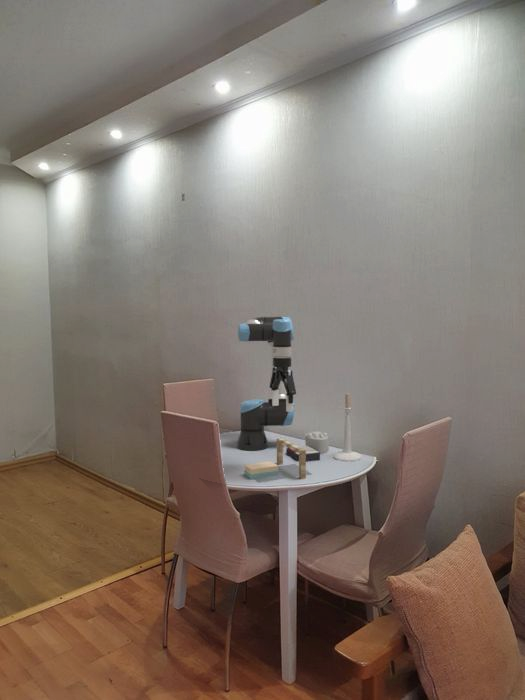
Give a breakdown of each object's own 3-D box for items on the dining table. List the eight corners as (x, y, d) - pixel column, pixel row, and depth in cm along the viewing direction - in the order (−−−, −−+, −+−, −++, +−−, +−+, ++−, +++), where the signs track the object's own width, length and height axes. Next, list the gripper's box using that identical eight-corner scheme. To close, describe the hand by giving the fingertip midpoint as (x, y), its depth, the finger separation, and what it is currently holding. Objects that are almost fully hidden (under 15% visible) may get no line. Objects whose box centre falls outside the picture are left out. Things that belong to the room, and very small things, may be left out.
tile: (271, 461, 219) (271, 470, 220) (244, 464, 215) (244, 474, 215) (278, 465, 213) (278, 475, 213) (250, 469, 208) (251, 479, 209)
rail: (276, 464, 230) (276, 438, 229) (280, 464, 230) (280, 437, 230) (301, 480, 209) (301, 450, 208) (305, 479, 209) (305, 450, 208)
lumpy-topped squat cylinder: (323, 446, 259) (323, 429, 259) (332, 453, 247) (332, 435, 246) (303, 447, 257) (303, 430, 257) (311, 455, 245) (310, 436, 244)
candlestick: (333, 461, 234) (333, 394, 232) (333, 453, 247) (333, 390, 245) (362, 461, 233) (362, 395, 231) (360, 454, 245) (361, 390, 243)
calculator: (307, 444, 250) (320, 451, 236) (307, 453, 250) (320, 460, 236) (285, 446, 247) (297, 453, 233) (286, 455, 247) (297, 463, 233)
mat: (243, 471, 220) (243, 471, 220) (294, 464, 229) (294, 463, 229) (258, 483, 205) (258, 482, 205) (312, 475, 215) (312, 474, 215)
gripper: (261, 355, 225) (262, 403, 226) (287, 360, 202) (287, 414, 204) (277, 354, 228) (277, 402, 229) (304, 359, 205) (304, 412, 207)
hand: (282, 408), depth 216 cm, fingers open, 13 cm apart
